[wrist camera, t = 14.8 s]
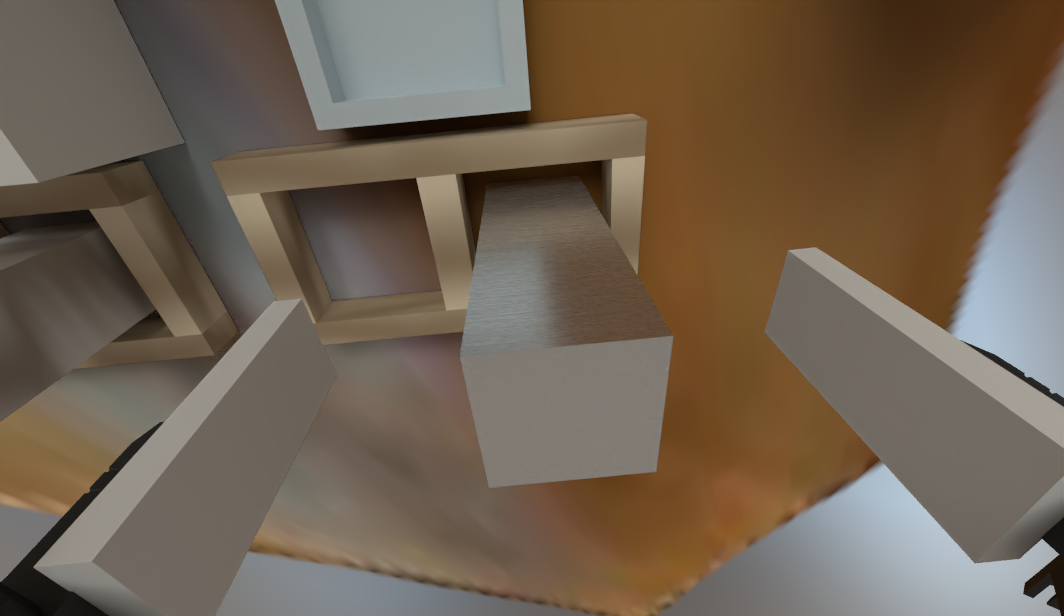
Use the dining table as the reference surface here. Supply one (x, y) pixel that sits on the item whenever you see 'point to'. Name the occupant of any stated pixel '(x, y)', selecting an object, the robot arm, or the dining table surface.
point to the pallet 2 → (438, 167)
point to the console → (73, 91)
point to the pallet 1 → (99, 282)
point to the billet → (560, 341)
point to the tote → (407, 58)
